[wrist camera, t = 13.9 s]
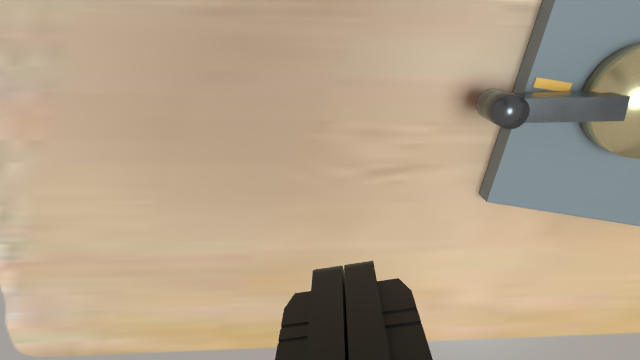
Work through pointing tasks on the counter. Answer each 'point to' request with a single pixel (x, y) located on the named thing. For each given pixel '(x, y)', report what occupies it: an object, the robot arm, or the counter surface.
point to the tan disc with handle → (582, 105)
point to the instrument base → (567, 137)
